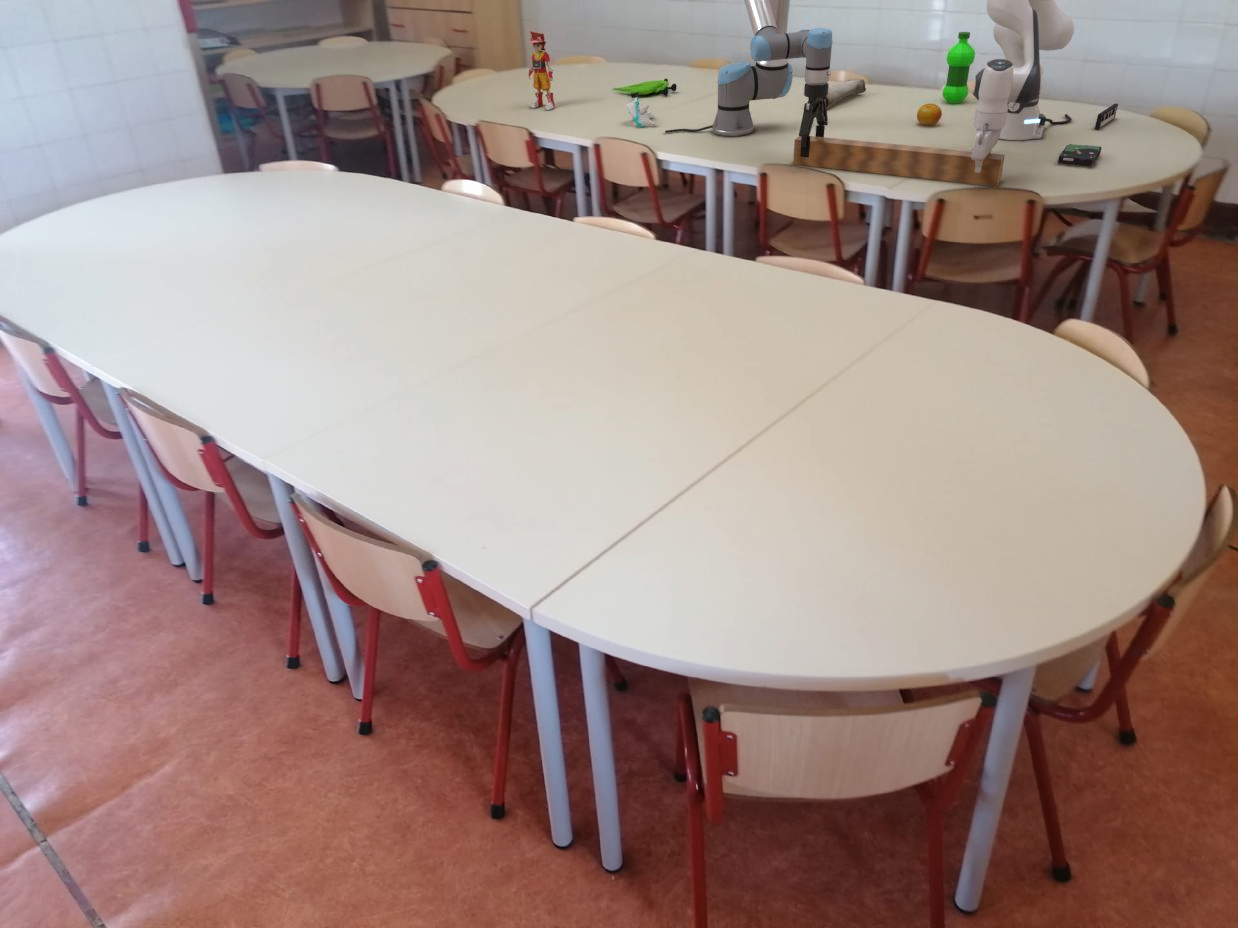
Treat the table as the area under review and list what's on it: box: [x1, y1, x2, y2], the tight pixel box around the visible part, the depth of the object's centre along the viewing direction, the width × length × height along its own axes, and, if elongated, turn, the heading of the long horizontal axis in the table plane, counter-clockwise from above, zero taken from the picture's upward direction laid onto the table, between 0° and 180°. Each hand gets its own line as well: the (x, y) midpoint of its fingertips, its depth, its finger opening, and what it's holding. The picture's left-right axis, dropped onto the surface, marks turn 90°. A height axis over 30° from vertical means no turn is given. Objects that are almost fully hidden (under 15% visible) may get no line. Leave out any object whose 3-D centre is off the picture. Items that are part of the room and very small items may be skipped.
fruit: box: [916, 103, 943, 126], centre depth 329 cm, size 8×8×8 cm
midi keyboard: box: [1094, 103, 1119, 130], centre depth 318 cm, size 18×1×5 cm, turn 138°
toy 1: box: [527, 31, 556, 111], centre depth 374 cm, size 12×9×30 cm
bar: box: [792, 135, 1006, 188], centre depth 285 cm, size 65×6×8 cm, turn 59°
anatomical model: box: [625, 97, 657, 128], centre depth 351 cm, size 15×10×10 cm
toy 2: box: [612, 78, 677, 99], centre depth 396 cm, size 28×5×30 cm
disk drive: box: [1057, 143, 1102, 167], centre depth 287 cm, size 10×3×15 cm
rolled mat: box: [806, 78, 867, 109], centre depth 364 cm, size 30×9×10 cm
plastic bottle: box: [942, 31, 976, 104], centre depth 348 cm, size 10×10×25 cm
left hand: (811, 151), depth 297 cm, fingers open, 13 cm apart
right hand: (981, 167), depth 272 cm, fingers open, 8 cm apart
